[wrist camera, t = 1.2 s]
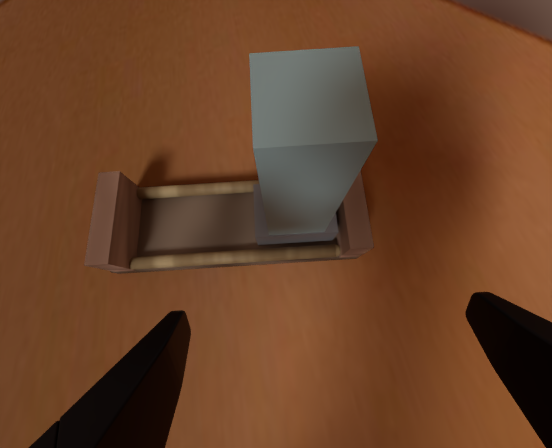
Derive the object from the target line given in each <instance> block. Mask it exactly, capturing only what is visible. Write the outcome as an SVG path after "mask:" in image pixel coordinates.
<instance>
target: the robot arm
mask: <svg viewBox="0 0 552 448" xmlns="http://www.w3.org/2000/svg"><path fill="white" fill-rule="evenodd" d="M466 318H467V320H468V322H469V324H470V326H471V328H472V330H473V332H474V333H475V335H476V337H477V339H478V341H479V343H480V345H481V346H482V348H483V350H484V352H485V354H486V356H487V357H488V359H489V361H490V363H491V365H492V366H493V368H494V370H495V371H496V373H497V374H498V376H499V377H500V379H501V380H502V382H503V384H504V385H505V387H506V388H507V390H508V391H509V393H510V394H511V396H512V397H513V399H514V400H515V402H516V403H517V405H518V406H519V408H520V409H521V411H522V412H523V414H524V415H525V417H526V418H527V420H528V421H529V423H530V424H531V426H532V427H533V429H534V430H535V432H536V433H537V435H538V436H539V438H540V439H541V441H542V443H543V444H544V446H545V447H546V448H552V322H550V321H548V320H546V319H544V318H542V317H540V316H537V315H535V314H533V313H531V312H529V311H527V310H525V309H523V308H521V307H519V306H517V305H515V304H513V303H511V302H509V301H507V300H505V299H503V298H501V297H499V296H496V295H494V294H492V293H490V292H476V293H474V294H473V295H472V296H471V299H470V301H469V304H468V306H467V309H466ZM190 336H191V329H190V325H189V322H188V319H187V315H186V313H185V311H183V310H181V311H171V312H170V313H168V314H167V315H166V316H165V317H164V318H163V319H162V320H161V321H160V322H159V323H158V324H157V325H156V326H155V327H154V328H153V329H152V330H151V331H150V332H149V333H148V334H147V335H146V336H145V337H143V338H142V339H141V340H140V341H139V342H138V343H137V344H136V345H135V346H134V347H133V348H132V349H131V350H130V351H129V352H128V353H127V354H126V355H125V356H124V357H123V358H122V359H121V360H120V361H119V362H118V363H116V364H115V365H114V366H113V367H112V368H111V369H110V370H109V371H108V372H107V373H106V374H105V375H104V376H103V377H102V378H101V379H100V380H99V381H98V382H97V383H96V384H95V385H94V386H93V387H92V388H91V389H90V390H88V391H87V392H86V393H85V394H84V395H83V396H82V397H81V398H80V399H79V400H78V401H77V402H76V403H75V404H74V405H73V406H72V407H71V408H70V409H69V410H68V411H67V412H66V413H65V414H64V415H63V416H62V417H61V418H60V421H56V422H55V423H54V424H53V425H52V426H51V427H50V428H49V429H48V430H47V431H46V432H45V433H44V434H43V435H42V436H41V437H40V438H38V439H37V440H36V441H35V442H34V443H33V444H32V445H31V446H30V447H29V448H165V445H166V442H167V438H168V435H169V431H170V427H171V424H172V420H173V417H174V413H175V410H176V406H177V402H178V399H179V395H180V391H181V387H182V382H183V377H184V371H185V365H186V360H187V354H188V348H189V342H190Z"/></svg>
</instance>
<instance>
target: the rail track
mask: <svg viewBox="0 0 552 448" xmlns="http://www.w3.org/2000/svg"><path fill="white" fill-rule="evenodd" d="M253 184H260V183H259V180H251V181H236V182H220V183H204V184H188V185H173V186H157V187H141V188H139V187H138V186H137V185H136V184H135V183H133V182H132V181H131V180H130V179H128V178H127V177H126V176H125V175H124V174H122V173H121V172H120V171H117V172H101V173H99V174H98V180H97V186H96V193H95V199H94V206H93V212H92V219H91V225H90V231H89V238H88V244H87V251H86V257H85V264H84V266H89V267H94V268H99V269H104V270H109V271H111V272H113V273H134V272H150V271H166V270H182V269H198V268H214V267H229V266H245V265H261V264H277V263H293V262H309V261H325V260H341V259H356V258H358V257H359V256H361V255H362V254H364V253H366V252H367V251H369V250H370V249H372V248H374V244H373V238H372V233H371V227H370V221H369V215H368V209H367V204H366V198H365V192H364V186H363V181H362V175H361V170H360V172H359V174H358V175H357V177H356V179H355V180H354V182H353V184H352V186H351V187H350V189H349V191H348V192H347V194H346V196H345V198H344V199H343V201H342V203H341V204H340V206H339V208H338V209H337V211H336V217H337V225H338V234H337V235H336V236H335V237H334V239H333V240H332V241H316V242H300V243H284V244H268V245H258V243H257V241H256V238H255V219H254V192H253Z"/></svg>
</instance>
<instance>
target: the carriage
mask: <svg viewBox="0 0 552 448" xmlns="http://www.w3.org/2000/svg"><path fill="white" fill-rule="evenodd" d="M249 56H250V81H251V107H252V132H253V151H254V156H255V162H256V167H257V172H258V178H259V183H260V184H253V192H254V219H255V238H256V241H257V243H258V245H268V244H284V243H300V242H316V241H332V240H333V239H334V237H335V236H336V235H337V234H338V225H337V217H336V211H337V209H338V208H339V206H340V204H341V203H342V201H343V199H344V198H345V196H346V194H347V192H348V191H349V189H350V187H351V186H352V184H353V182H354V180H355V179H356V177H357V175H358V174H359V172H360V170H361V168H362V167H363V165H364V163H365V162H366V160H367V158H368V156H369V155H370V153H371V151H372V150H373V148H374V146H375V144H376V143H377V141H378V140H377V135H376V130H375V125H374V120H373V115H372V110H371V105H370V100H369V95H368V90H367V85H366V80H365V75H364V70H363V65H362V60H361V55H360V51H359V46H358V47H342V48H327V49H311V50H296V51H281V52H265V53H250V54H249Z"/></svg>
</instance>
